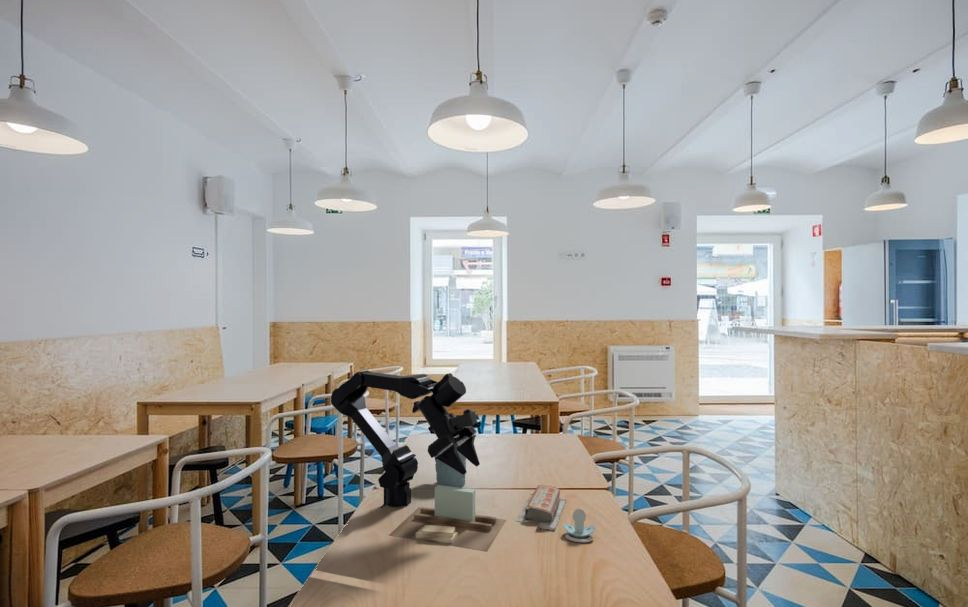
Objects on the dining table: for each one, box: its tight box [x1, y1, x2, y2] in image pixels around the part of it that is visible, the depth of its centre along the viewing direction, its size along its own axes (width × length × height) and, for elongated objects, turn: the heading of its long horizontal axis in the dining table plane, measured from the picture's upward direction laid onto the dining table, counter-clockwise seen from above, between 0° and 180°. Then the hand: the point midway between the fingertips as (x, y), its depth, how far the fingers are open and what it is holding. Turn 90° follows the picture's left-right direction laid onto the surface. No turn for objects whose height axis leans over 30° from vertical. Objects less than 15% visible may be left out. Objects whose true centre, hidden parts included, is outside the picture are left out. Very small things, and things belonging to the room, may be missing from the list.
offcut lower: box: [416, 527, 458, 544], centre depth 112 cm, size 9×4×1 cm, turn 72°
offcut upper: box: [422, 525, 455, 537], centre depth 112 cm, size 7×3×1 cm, turn 82°
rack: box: [388, 506, 507, 552], centre depth 117 cm, size 24×16×2 cm, turn 72°
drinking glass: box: [434, 446, 467, 488], centre depth 147 cm, size 10×10×12 cm
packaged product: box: [515, 484, 567, 531], centre depth 128 cm, size 18×5×10 cm
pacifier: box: [563, 508, 596, 543], centre depth 115 cm, size 7×6×6 cm
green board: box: [434, 484, 476, 522], centre depth 121 cm, size 10×2×8 cm, turn 72°
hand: (471, 469), depth 121 cm, fingers open, 9 cm apart
